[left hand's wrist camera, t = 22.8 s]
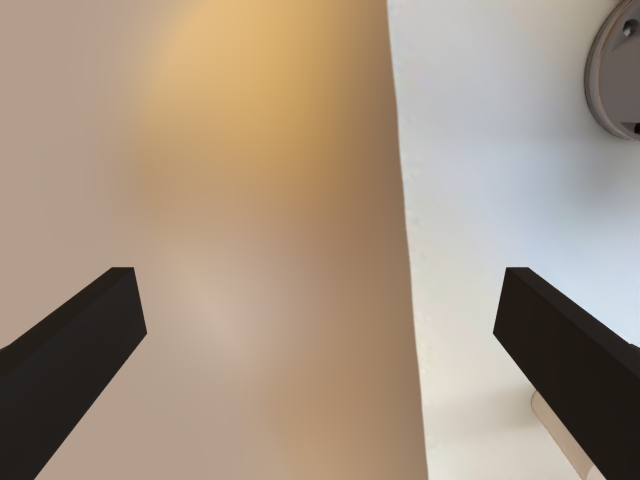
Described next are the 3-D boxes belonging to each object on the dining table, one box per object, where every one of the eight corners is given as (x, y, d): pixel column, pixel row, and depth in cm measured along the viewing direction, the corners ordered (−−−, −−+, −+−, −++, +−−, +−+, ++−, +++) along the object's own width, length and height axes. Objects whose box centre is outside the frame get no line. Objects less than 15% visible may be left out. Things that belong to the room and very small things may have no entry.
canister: (548, 371, 48) (610, 443, 38) (597, 384, 49) (672, 458, 39) (521, 413, 51) (573, 491, 41) (569, 424, 52) (632, 503, 41)
